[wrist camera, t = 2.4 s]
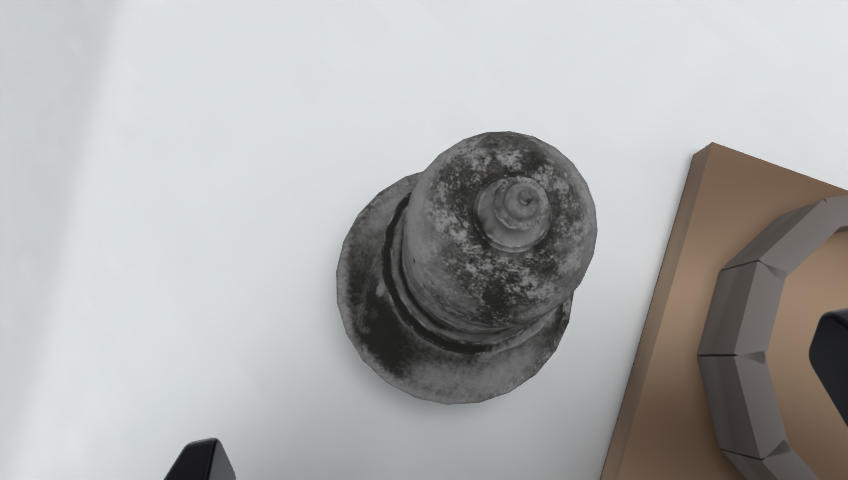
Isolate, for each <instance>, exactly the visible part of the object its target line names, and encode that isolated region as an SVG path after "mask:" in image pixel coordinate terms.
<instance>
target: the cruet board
mask: <svg viewBox="0 0 848 480" xmlns="http://www.w3.org/2000/svg"><path fill="white" fill-rule="evenodd" d="M843 308H848V191H847V190H845V189H842V188H839V187H836V186H833V185H831V184H828V183H825V182H822V181H819V180H817V179H814V178H811V177H808V176H806V175H803V174H800V173H797V172H794V171H792V170H789V169H786V168H783V167H780V166H778V165H775V164H772V163H769V162H767V161H764V160H761V159H758V158H755V157H753V156H750V155H747V154H744V153H742V152H739V151H736V150H733V149H730V148H728V147H725V146H722V145H719V144H716V143H714V142H712V143H710V144H709V145H707V146H706V147H705V148H703V149H702V150H700V151H699V152H697V153H696V154H694V156H693V160H692V163H691V167H690V170H689V174H688V177H687V181H686V184H685V188H684V191H683V194H682V198H681V201H680V205H679V208H678V212H677V215H676V219H675V222H674V226H673V229H672V233H671V236H670V239H669V243H668V246H667V250H666V253H665V257H664V260H663V264H662V267H661V271H660V274H659V278H658V281H657V284H656V288H655V291H654V295H653V298H652V302H651V305H650V309H649V312H648V316H647V319H646V322H645V326H644V329H643V333H642V336H641V340H640V343H639V347H638V350H637V354H636V357H635V361H634V364H633V367H632V371H631V374H630V378H629V381H628V385H627V388H626V392H625V395H624V399H623V402H622V406H621V409H620V412H619V416H618V419H617V423H616V426H615V430H614V433H613V437H612V440H611V444H610V447H609V450H608V454H607V457H606V461H605V464H604V468H603V471H602V475H601V478H600V480H848V427H847V426H846V424H845V422H844V421H843V419H842V417H841V416H840V414H839V412H838V410H837V409H836V407H835V405H834V404H833V402H832V400H831V398H830V397H829V395H828V393H827V392H826V390H825V388H824V387H823V385H822V383H821V381H820V380H819V378H818V376H817V375H816V373H815V371H814V370H813V368H812V366H811V363H810V360H809V347H810V344H811V341H812V339H813V336H814V333H815V330H816V327H817V324H818V322H819V319H820V317H821V316H822V315H823V314H824V313H826V312H828V311H833V310H838V309H843Z"/></svg>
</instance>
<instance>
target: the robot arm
mask: <svg viewBox="0 0 848 480" xmlns="http://www.w3.org/2000/svg"><path fill="white" fill-rule="evenodd" d="M809 360H810V363H811V366H812V368H813V370H814V371H815V373H816V375H817V376H818V378H819V380H820V381H821V383H822V385H823V387H824V388H825V390H826V392H827V393H828V395H829V397H830V398H831V400H832V402H833V404H834V405H835V407H836V409H837V410H838V412H839V414H840V416H841V417H842V419H843V421H844V422H845V424H846V426H847V427H848V308H843V309H838V310H833V311H828V312H826V313H824V314H823V315H822V316H821V317H820V319H819V322H818V324H817V327H816V330H815V333H814V336H813V339H812V341H811V344H810V347H809ZM164 480H236V477H235V473H234V470H233V468H232V466H231V464H230V461H229V459H228V457H227V455H226V453H225V450H224V448H223V446H222V444H221V442H220V441H219V440H218V439H217V438H209V439H204V440H199V441H194V442H191V443H189V444H187V445H186V446H185V447H184V449H183V450H182V452H181V453H180V455H179V456H178V458H177V459H176V461H175V463H174V464H173V466H172V467H171V469H170V470H169V472H168V474H167V475H166V477H165V478H164Z"/></svg>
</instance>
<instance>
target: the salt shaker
mask: <svg viewBox="0 0 848 480" xmlns="http://www.w3.org/2000/svg"><path fill="white" fill-rule="evenodd" d="M596 237H597V220H596V210H595V204H594V202H593V199H592V196H591V193H590V191H589V188H588V185H587V183H586V181H585V180H584V178H583V177H582V176H581V174H580V173H579V171H578V170H577V168H576V167H575V165H574V164H573V163H572V162H571V161H570V160H569V159H568V158H567V157H565V156H564V155H563V154H562V153H561V152H560V151H559V150H557V149H556V148H555V147H553V146H551V145H549V144H547V143H545V142H543V141H541V140H539V139H537V138H535V137H533V136H529V135H524V134H520V133H515V132H510V131H507V132H486V133H483V134H479V135H476V136H473V137H470V138H467V139H463V140H462V141H460V142H459V143H457V144H455V145H454V146H452V147H451V148H449V149H447V150H446V151H444V152H443V153H441V154H440V155H438V157H437V158H436V159H435V160H434V161H433V162H432V163H431V164H430V165H429V166H428V167H427V168H426V170H425V171H423V172H420V173H416V174H413V175H410V176H406V177H404V178H402V179H401V180H399V181H397V182H396V183H394V184H393V185H391V186H389V187H388V188H386V189H384V190H383V191H381V192H379V193H378V194H377V195H376V197H375V198H374V199H373V200H372V201H371V202H370V203H369V204H368V205H367V206H366V207H365V208H364V209H363V210H362V211H361V212H360V213H359V214H358V216H357V218H356V220H355V222H354V223H353V225H352V227H351V229H350V231H349V233H348V234H347V236H346V238H345V240H344V242H343V246H342V250H341V254H340V259H339V263H338V267H337V271H336V277H337V304H338V307H339V311H340V314H341V317H342V320H343V324H344V327H345V330H346V334H347V335H348V337H349V338H350V340H351V342H352V343H353V345H354V346H355V348H356V350H357V351H358V353H359V354H360V356H361V358H362V359H363V361H364V362H365V363H366V364H368V365H369V366H370V367H371V368H372V369H373V370H374V371H375V372H376V373H377V374H378V375H379V376H380V377H382V378H383V379H384V380H385V381H386V382H387V383H389V384H391V385H393V386H394V387H396V388H398V389H400V390H402V391H404V392H406V393H408V394H410V395H412V396H414V397H416V398H420V399H425V400H429V401H434V402H439V403H443V404H463V403H480V402H483V401H485V400H488V399H491V398H494V397H497V396H500V395H503V394H506V393H509V392H511V391H512V390H514V389H515V388H517V387H518V386H519V385H521V384H522V383H524V382H525V381H527V380H528V379H530V378H531V377H533V376H534V375H535V374H536V373H537V372H538V371H539V370H540V369H541V367H542V366H543V365H544V364H545V363H546V361H547V360H548V359H549V358H550V357H551V355H552V354H553V353H554V352H555V351H556V349H557V347H558V345H559V342H560V340H561V338H562V336H563V334H564V331H565V329H566V327H567V325H568V323H569V318H570V312H571V306H572V300H573V294H574V290H575V289H576V288H577V287H578V286H579V284H580V283H581V281H582V279H583V277H584V275H585V273H586V270H587V268H588V266H589V264H590V262H591V259H592V257H593V255H594V249H595V243H596Z"/></svg>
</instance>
